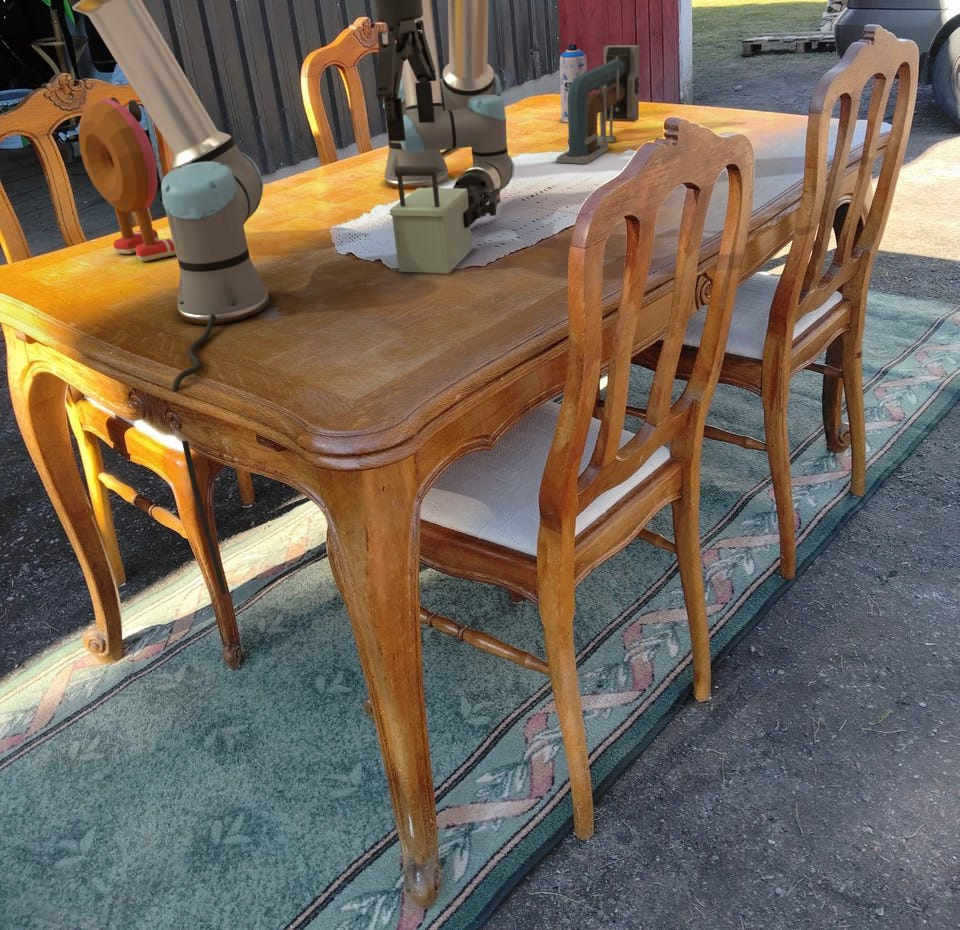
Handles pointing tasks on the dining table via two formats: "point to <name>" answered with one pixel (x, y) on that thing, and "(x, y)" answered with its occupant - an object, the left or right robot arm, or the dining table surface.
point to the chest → (432, 241)
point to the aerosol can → (570, 74)
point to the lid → (425, 194)
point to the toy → (123, 172)
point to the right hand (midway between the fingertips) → (438, 219)
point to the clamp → (602, 103)
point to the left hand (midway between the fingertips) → (412, 131)
